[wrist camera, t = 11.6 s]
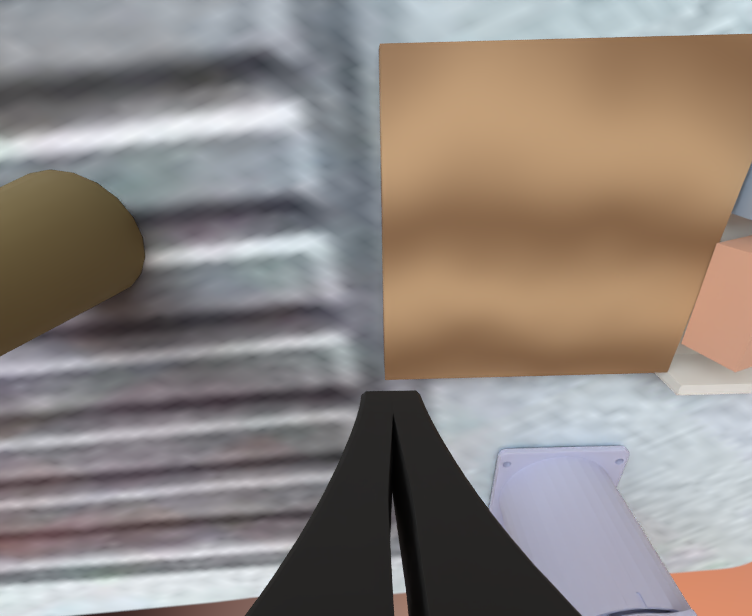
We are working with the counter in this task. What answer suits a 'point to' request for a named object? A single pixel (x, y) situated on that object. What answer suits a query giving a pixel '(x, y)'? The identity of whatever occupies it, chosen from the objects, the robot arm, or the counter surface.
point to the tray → (695, 369)
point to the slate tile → (745, 198)
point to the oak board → (554, 199)
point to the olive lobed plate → (60, 252)
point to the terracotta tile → (725, 307)
